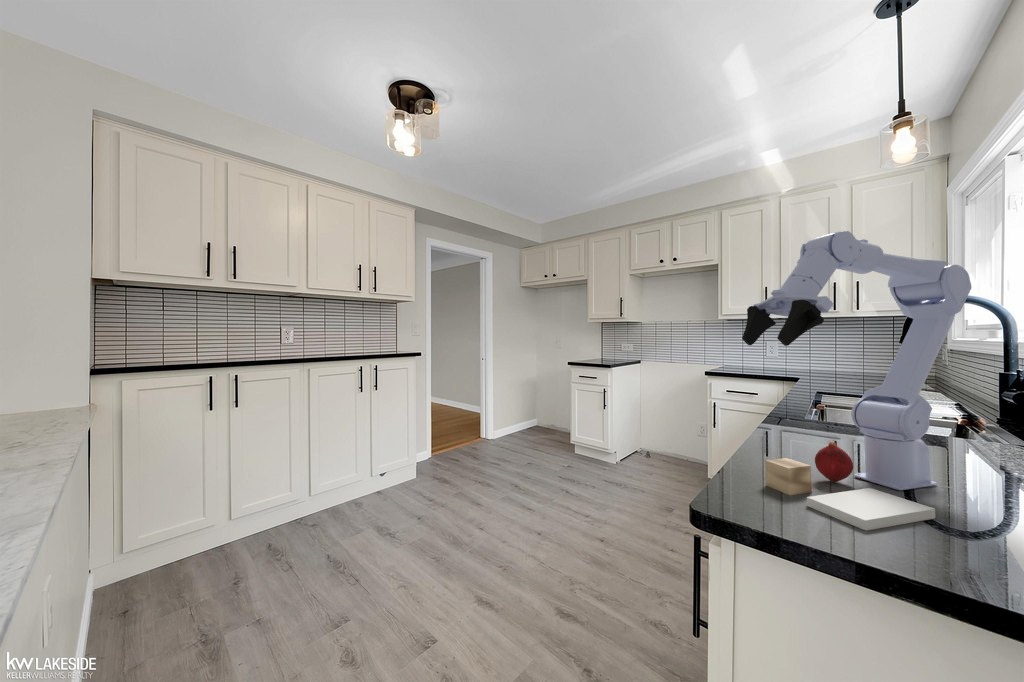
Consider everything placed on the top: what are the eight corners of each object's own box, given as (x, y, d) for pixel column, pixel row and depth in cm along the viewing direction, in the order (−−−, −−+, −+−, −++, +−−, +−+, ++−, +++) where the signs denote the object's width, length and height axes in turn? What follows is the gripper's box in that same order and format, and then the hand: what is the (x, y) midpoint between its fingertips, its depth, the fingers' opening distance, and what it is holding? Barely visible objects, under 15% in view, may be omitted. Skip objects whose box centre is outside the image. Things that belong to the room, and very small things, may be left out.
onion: (861, 488, 72) (859, 446, 72) (826, 487, 73) (824, 445, 73) (841, 477, 78) (840, 438, 78) (809, 476, 79) (807, 437, 79)
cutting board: (870, 496, 68) (870, 487, 68) (935, 518, 60) (935, 508, 60) (806, 505, 65) (806, 497, 65) (865, 530, 57) (865, 520, 57)
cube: (787, 483, 76) (786, 457, 76) (811, 492, 71) (810, 465, 71) (766, 485, 75) (765, 460, 75) (789, 495, 70) (788, 468, 70)
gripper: (756, 278, 78) (719, 328, 76) (829, 264, 64) (785, 326, 62) (778, 300, 79) (742, 351, 77) (854, 292, 65) (813, 354, 63)
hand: (763, 342), depth 70 cm, fingers open, 7 cm apart
